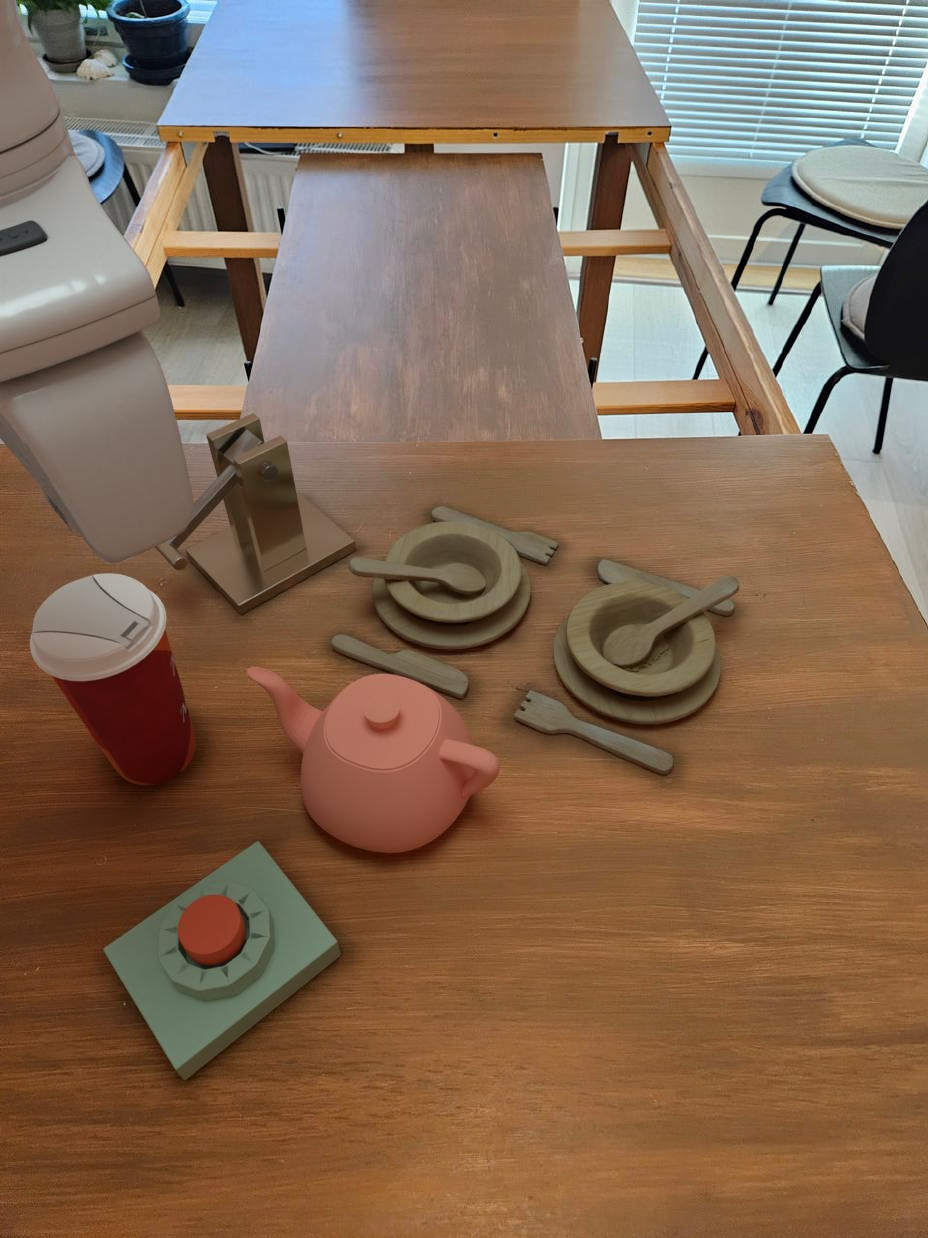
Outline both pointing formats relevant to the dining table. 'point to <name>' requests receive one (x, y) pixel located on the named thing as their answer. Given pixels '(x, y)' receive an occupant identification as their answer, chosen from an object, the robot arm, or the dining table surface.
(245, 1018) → the button box
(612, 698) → the tableware set
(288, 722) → the teapot
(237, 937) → the button
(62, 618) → the coffee cup
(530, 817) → the dining table surface
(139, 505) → the robot arm
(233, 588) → the metal lever stand
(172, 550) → the lever
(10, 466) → the dining table surface
